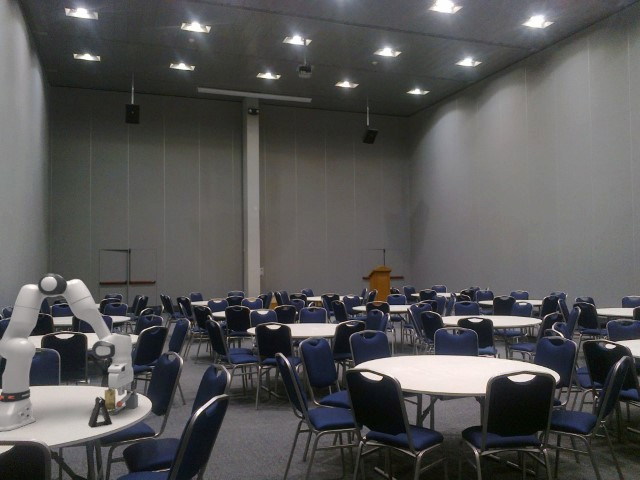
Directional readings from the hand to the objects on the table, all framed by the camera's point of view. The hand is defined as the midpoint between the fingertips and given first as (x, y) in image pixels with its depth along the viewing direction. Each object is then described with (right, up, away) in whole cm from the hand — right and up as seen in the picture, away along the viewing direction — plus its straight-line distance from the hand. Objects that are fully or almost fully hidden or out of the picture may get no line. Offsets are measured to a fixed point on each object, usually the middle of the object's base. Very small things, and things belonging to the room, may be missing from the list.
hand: (121, 394), depth 271 cm
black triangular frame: (-3, -9, -17) cm, 20 cm away
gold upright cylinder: (-7, -8, +4) cm, 11 cm away
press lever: (+1, -4, +4) cm, 6 cm away
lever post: (+1, -10, +11) cm, 15 cm away
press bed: (-7, -9, +4) cm, 12 cm away
